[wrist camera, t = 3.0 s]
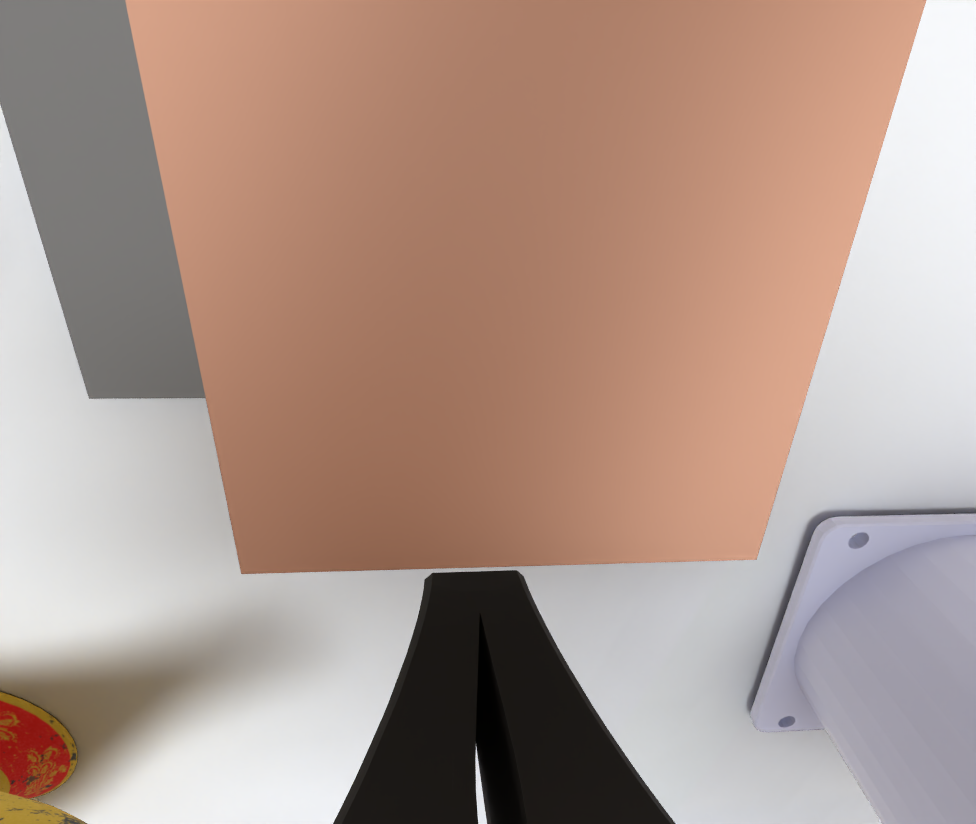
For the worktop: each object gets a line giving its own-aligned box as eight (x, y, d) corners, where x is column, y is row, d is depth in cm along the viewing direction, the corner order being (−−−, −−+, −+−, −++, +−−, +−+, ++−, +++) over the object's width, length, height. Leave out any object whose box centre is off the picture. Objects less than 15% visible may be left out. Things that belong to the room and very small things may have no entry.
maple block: (589, 41, 10) (944, -63, 3) (567, 280, 12) (756, 559, 5) (341, 30, 10) (100, -114, 3) (358, 278, 12) (241, 573, 5)
